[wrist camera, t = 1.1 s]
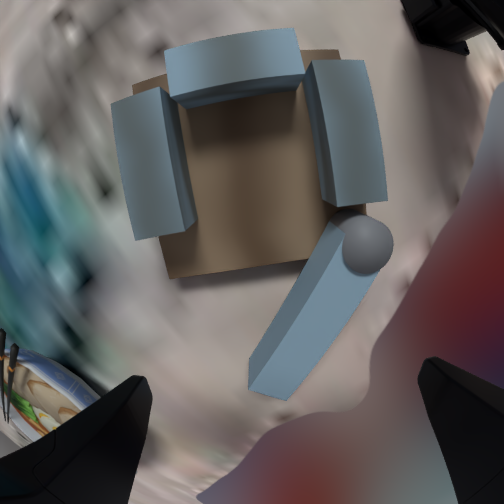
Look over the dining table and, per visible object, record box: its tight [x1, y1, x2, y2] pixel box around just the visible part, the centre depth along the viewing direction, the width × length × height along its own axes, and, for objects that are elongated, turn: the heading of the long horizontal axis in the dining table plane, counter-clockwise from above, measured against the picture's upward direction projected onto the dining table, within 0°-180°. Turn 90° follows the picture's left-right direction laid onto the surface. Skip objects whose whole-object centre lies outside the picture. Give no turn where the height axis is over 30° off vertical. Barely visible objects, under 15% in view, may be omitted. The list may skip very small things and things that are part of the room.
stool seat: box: [111, 28, 388, 279], centre depth 16 cm, size 14×14×6 cm
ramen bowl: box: [0, 328, 137, 475], centre depth 22 cm, size 25×23×8 cm
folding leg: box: [248, 209, 393, 401], centre depth 17 cm, size 14×3×4 cm, turn 154°
